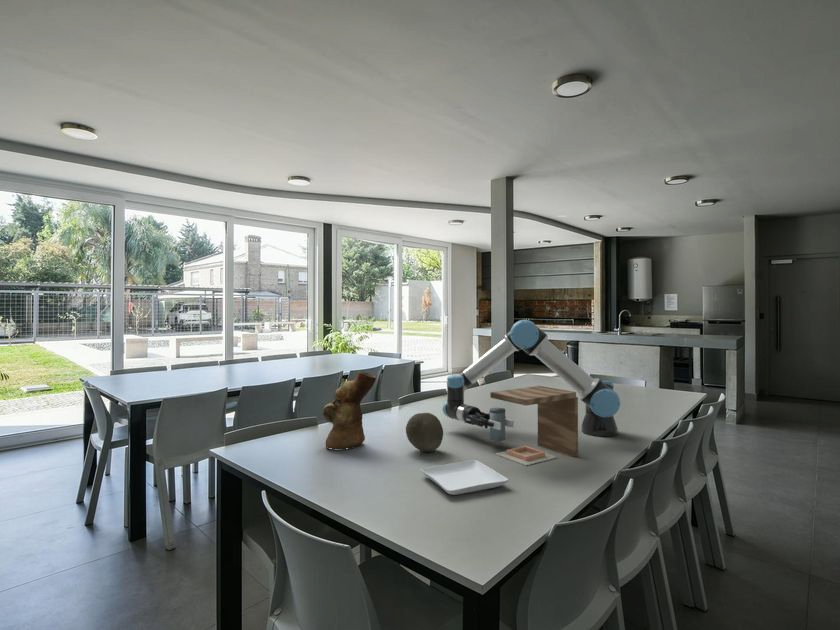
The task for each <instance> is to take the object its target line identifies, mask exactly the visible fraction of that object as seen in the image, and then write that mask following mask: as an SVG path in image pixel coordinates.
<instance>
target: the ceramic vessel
mask: <svg viewBox="0 0 840 630" xmlns="http://www.w3.org/2000/svg"><path fill="white" fill-rule="evenodd" d="M376 380H377V377H376V376H374V375H372V374H370V373H368V372H365V371H362V370H361V371H360V370H359V371H358V372H357V374H356V376H355V378H354V379H353V380H345V378H342V379H341V380H340V381H341V382H340V386H339V387H338V388H337V389H336V390H335V392H334V394H335V397H334V398H335V399H333V400H332V401H331V402H330V403H328V404H326V405H324V407H323V410H322V416H323V418H324V419H325V421H327V422H328V423H331V424H332V428H331V430H330V431H329V432H328V435H327V437H326V440H325V448H327V447H328V448H332V449H346V448H352V449H354V448H353V447H355V448H357V447H359V446H361V445H362V444H363V443H364V442H365V440H366V436H365V432H364V428H363V427H364V425H363V410H362V408H361V402H362V401H363V399H364V398H365V396H367V394H368V393H369V392H370V390H371V389H372V388H373V387H374V385H375V382H376ZM338 403H339V404H338ZM356 446H357V447H356ZM328 448H327V449H328Z"/></svg>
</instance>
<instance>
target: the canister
mask: <svg viewBox="0 0 840 630" xmlns="http://www.w3.org/2000/svg"><path fill="white" fill-rule="evenodd" d="M489 412H490V420H493V421H496V422H500V423H501V430H498V429H494V428H491V427H489V439H490V441H492V442H493V441H494V442H504V441H506V426H505V416H506V408H503V407H491V408H489Z"/></svg>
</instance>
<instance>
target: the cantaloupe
mask: <svg viewBox="0 0 840 630" xmlns="http://www.w3.org/2000/svg"><path fill="white" fill-rule="evenodd" d="M405 434H406V438H407V440H408V441H409V443H410V444H411V446H413V447H414V448H416V449H417V450H418V451H421V452H423V453H424V452H425V453H432V452H433V451H436V450H437V449H438V448H439V447H440V446H441V444H442V442H443V438H444V428H443V425H442V423H441V421H440V419H439V418H438V417H437V416H436V415H434V414H433V413H430V412H419V413H415V414H413V415H412V416H411V417H410V418H409V419H408V421H407V423H406V425H405Z"/></svg>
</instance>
